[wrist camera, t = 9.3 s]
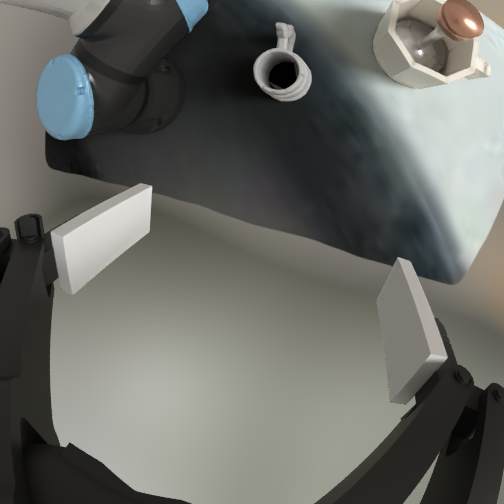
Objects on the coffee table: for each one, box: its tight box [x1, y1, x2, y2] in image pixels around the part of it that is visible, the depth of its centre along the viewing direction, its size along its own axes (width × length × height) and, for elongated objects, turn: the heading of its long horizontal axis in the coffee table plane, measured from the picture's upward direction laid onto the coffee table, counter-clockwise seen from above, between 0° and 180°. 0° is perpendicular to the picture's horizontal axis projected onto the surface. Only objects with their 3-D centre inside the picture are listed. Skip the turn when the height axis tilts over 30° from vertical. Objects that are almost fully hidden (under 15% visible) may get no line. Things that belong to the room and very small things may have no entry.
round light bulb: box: [395, 0, 484, 72], centre depth 21 cm, size 9×9×18 cm
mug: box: [253, 23, 312, 101], centre depth 34 cm, size 8×12×12 cm, turn 174°
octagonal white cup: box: [373, 0, 491, 89], centre depth 27 cm, size 16×12×13 cm
